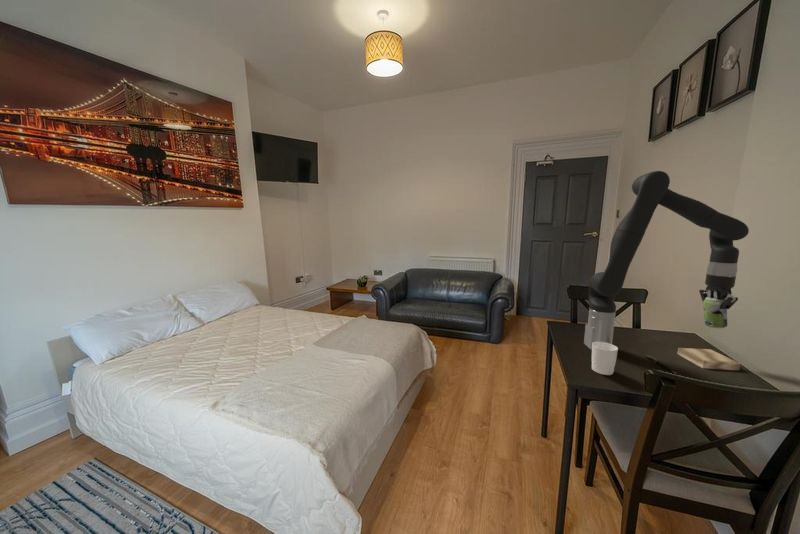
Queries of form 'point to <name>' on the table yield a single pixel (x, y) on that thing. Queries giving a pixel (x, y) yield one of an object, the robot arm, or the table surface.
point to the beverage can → (714, 313)
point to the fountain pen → (660, 364)
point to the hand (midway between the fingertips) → (713, 317)
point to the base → (708, 359)
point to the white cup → (603, 357)
